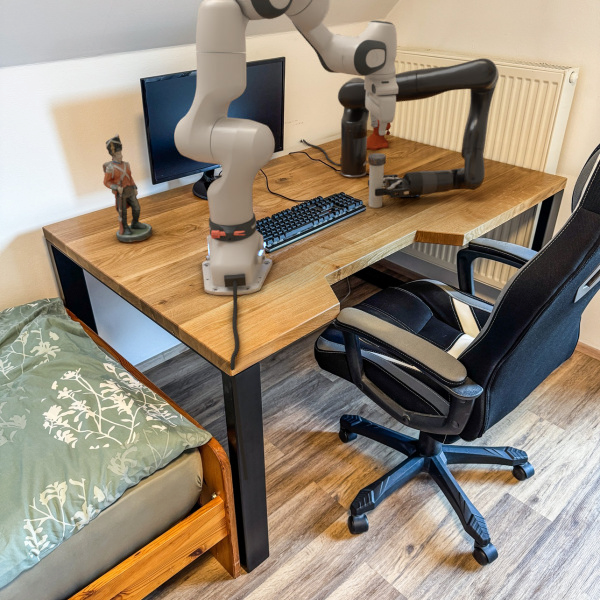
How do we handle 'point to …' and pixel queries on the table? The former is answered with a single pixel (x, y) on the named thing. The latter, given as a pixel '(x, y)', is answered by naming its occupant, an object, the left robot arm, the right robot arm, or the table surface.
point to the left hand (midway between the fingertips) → (377, 130)
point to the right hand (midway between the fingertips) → (371, 187)
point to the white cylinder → (375, 185)
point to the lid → (377, 159)
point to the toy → (378, 138)
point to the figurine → (124, 194)
